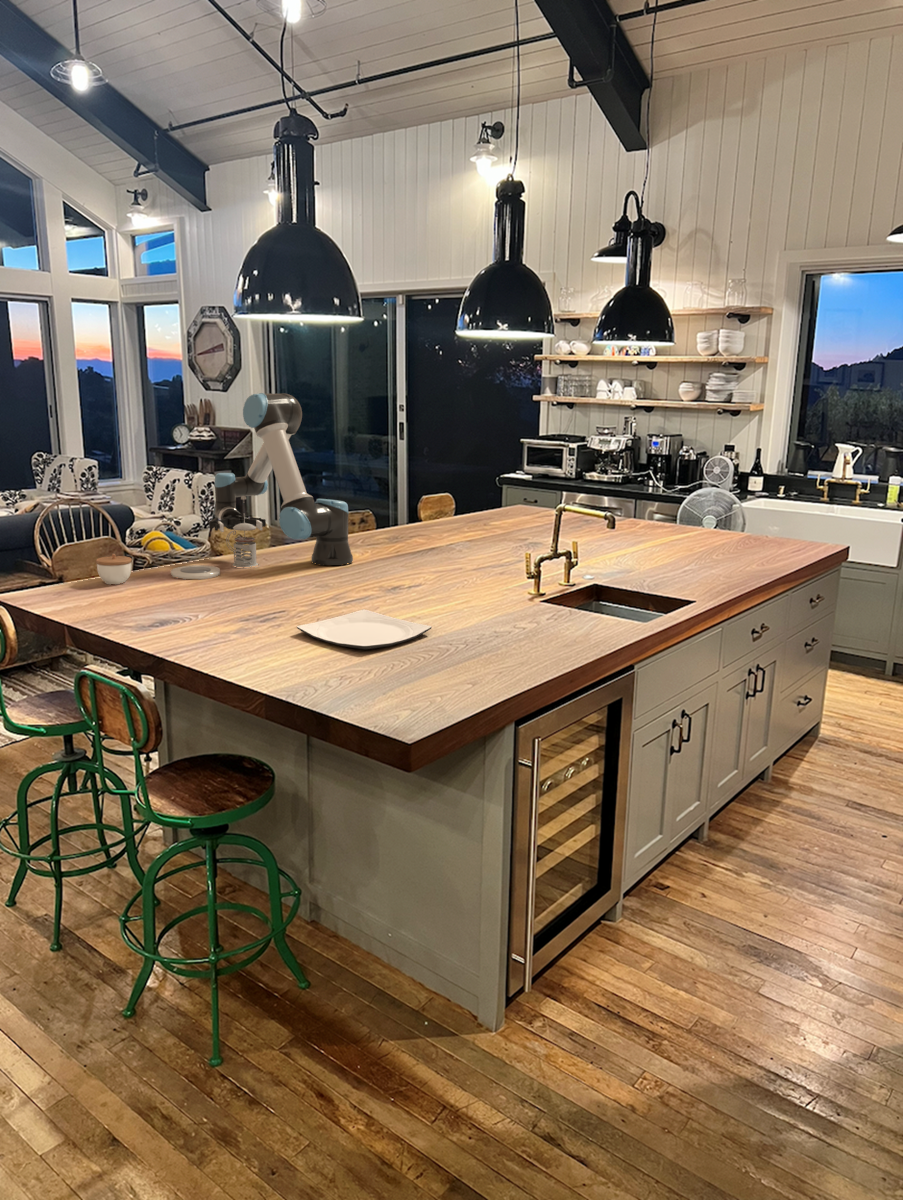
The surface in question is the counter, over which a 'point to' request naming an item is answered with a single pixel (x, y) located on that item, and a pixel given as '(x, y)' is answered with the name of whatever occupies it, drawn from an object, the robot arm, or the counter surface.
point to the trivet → (195, 572)
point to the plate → (364, 630)
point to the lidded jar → (114, 568)
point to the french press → (244, 546)
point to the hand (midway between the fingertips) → (242, 527)
